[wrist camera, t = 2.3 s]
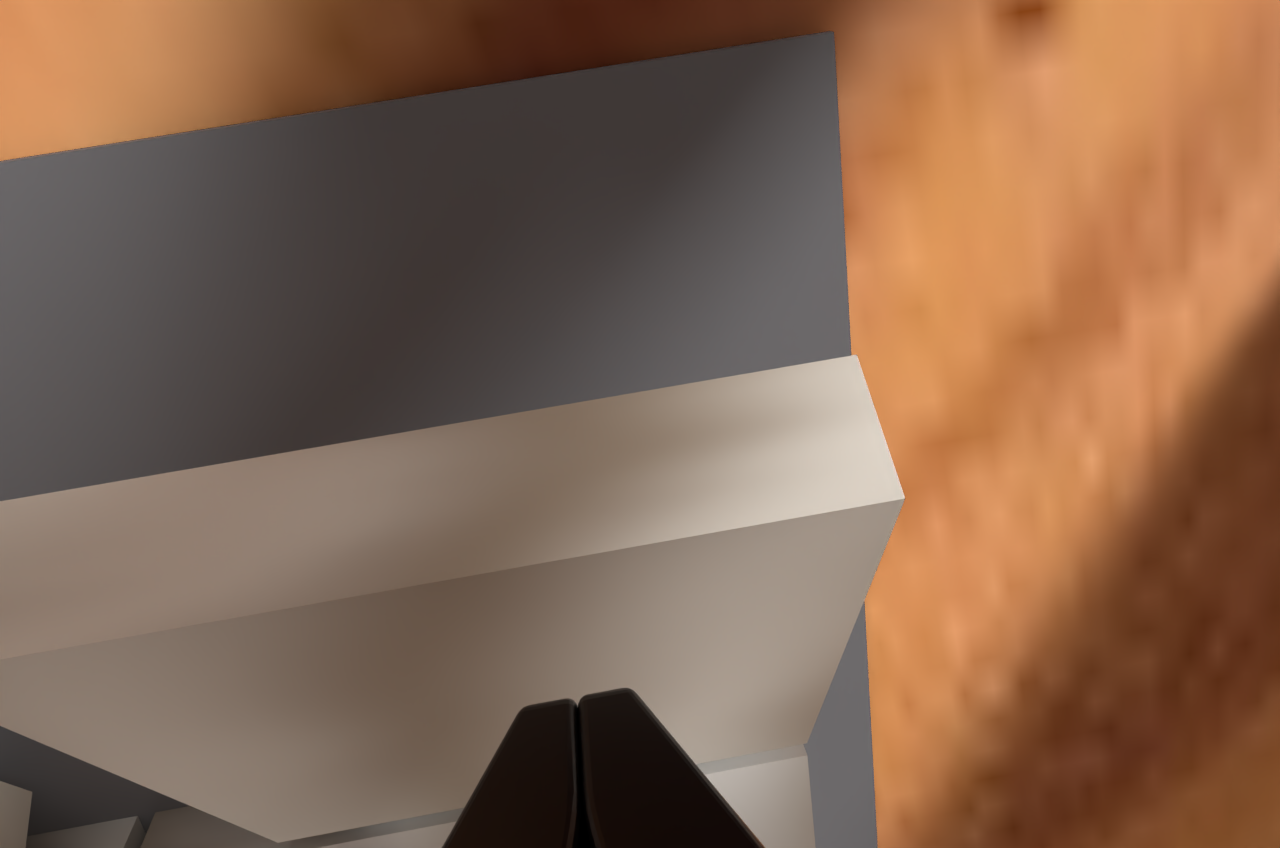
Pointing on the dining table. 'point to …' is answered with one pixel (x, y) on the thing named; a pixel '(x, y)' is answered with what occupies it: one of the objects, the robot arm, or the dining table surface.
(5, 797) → the plank
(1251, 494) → the dining table surface
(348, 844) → the laid row
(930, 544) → the dining table surface
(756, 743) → the plank
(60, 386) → the underlay mat
